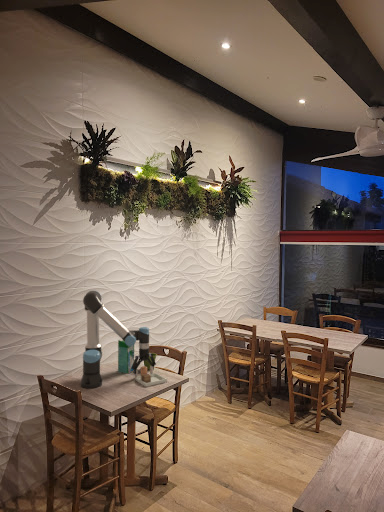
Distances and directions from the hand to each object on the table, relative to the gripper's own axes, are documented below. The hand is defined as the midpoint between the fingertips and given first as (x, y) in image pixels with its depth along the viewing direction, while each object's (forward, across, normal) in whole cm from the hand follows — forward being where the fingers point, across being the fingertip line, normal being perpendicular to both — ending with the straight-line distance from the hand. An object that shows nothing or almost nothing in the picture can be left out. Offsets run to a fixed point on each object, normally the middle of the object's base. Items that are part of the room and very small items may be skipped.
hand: (143, 376), depth 306 cm
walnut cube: (0, -5, -12) cm, 14 cm away
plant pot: (0, +13, +14) cm, 19 cm away
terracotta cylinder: (0, 0, 0) cm, 0 cm away
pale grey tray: (0, -1, -12) cm, 13 cm away
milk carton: (0, -5, +19) cm, 20 cm away
